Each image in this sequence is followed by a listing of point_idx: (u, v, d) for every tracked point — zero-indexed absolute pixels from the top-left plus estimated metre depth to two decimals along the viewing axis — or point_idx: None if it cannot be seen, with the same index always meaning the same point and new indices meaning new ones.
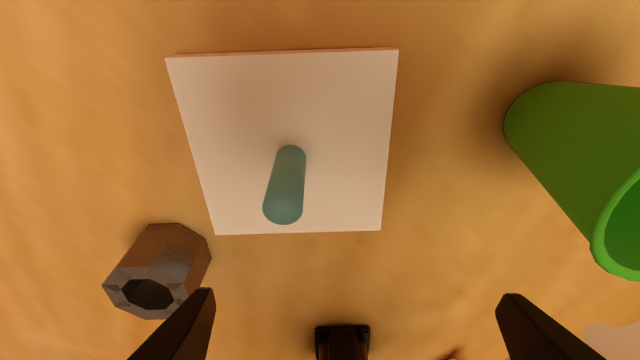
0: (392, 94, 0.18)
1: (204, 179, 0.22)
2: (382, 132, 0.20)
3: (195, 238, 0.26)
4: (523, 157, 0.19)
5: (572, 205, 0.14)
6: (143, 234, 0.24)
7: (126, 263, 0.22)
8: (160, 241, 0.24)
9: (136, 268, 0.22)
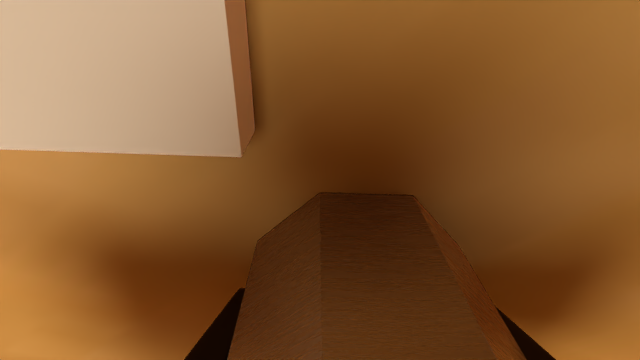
0: None
1: None
2: None
3: (300, 219, 0.08)
4: None
5: None
6: None
7: None
8: None
9: None
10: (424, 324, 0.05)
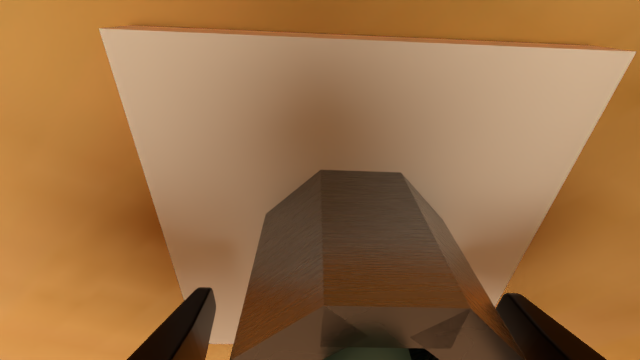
0: (204, 38, 0.07)
1: None
2: (304, 60, 0.08)
3: (303, 192, 0.09)
4: None
5: None
6: None
7: None
8: None
9: None
10: (403, 261, 0.06)
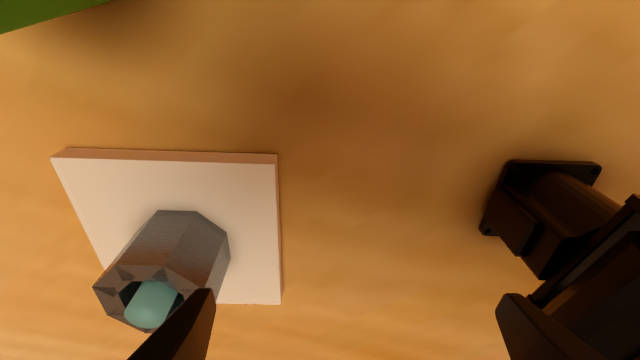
0: (92, 160, 0.18)
1: (217, 300, 0.25)
2: (136, 167, 0.18)
3: (148, 220, 0.20)
4: (80, 7, 0.12)
5: None
6: None
7: None
8: None
9: (103, 299, 0.17)
10: (156, 251, 0.17)
